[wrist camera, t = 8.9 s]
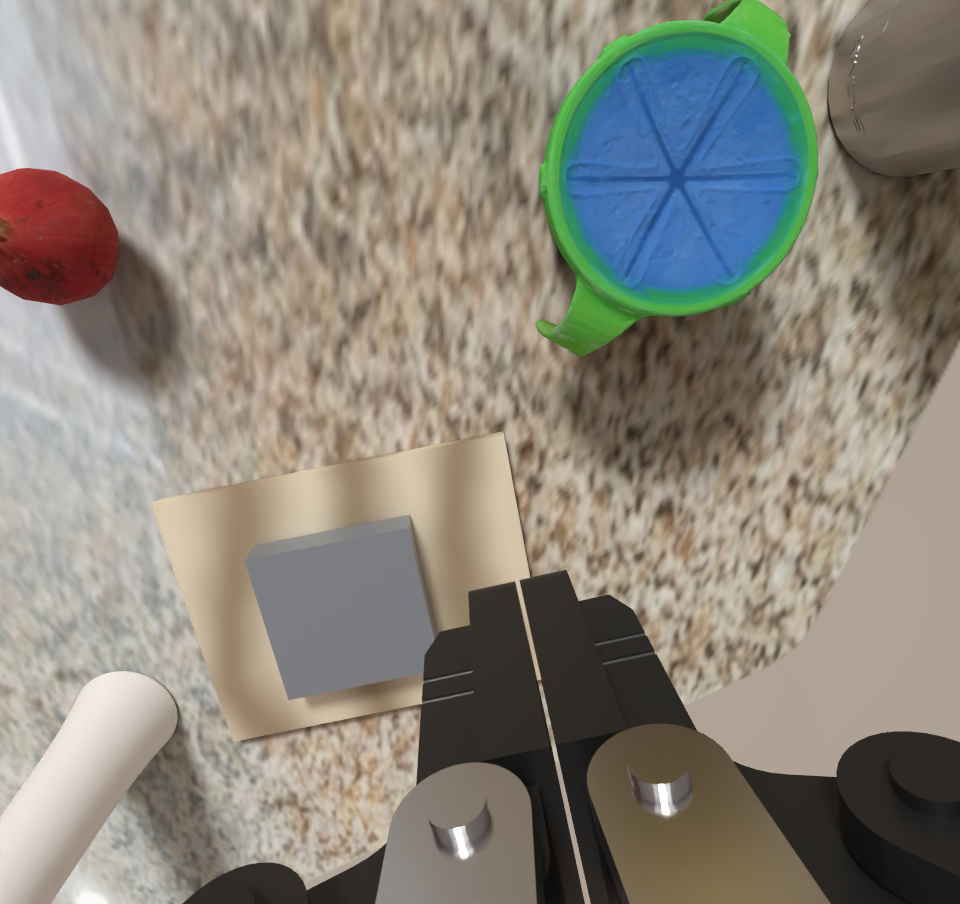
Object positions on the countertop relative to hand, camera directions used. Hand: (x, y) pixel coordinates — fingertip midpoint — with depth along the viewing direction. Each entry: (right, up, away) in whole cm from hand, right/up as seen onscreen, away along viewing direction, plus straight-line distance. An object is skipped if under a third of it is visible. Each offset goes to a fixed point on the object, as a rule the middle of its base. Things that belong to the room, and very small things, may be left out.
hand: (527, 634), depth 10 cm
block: (-4, -5, +28) cm, 29 cm away
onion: (-21, +13, +24) cm, 34 cm away
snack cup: (+6, +16, +25) cm, 30 cm away
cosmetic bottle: (-23, -13, +31) cm, 41 cm away
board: (-8, -6, +30) cm, 31 cm away
